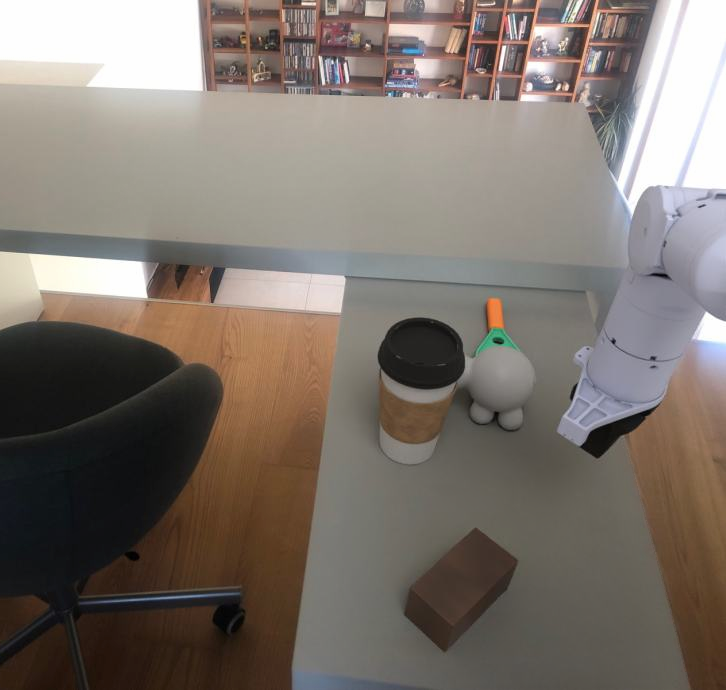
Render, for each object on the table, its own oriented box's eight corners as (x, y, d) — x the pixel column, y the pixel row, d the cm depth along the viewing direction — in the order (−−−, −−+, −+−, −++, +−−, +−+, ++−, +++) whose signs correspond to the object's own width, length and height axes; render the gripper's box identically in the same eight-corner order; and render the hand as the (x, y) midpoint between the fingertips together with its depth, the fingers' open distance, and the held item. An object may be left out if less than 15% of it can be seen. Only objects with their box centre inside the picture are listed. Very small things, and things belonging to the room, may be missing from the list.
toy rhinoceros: (425, 372, 84) (435, 317, 78) (528, 397, 80) (546, 341, 75) (412, 413, 79) (421, 357, 73) (521, 441, 75) (539, 384, 70)
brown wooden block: (519, 560, 59) (453, 626, 55) (508, 587, 62) (444, 652, 58) (475, 526, 62) (409, 587, 58) (467, 554, 65) (403, 614, 61)
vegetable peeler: (527, 388, 82) (530, 377, 80) (474, 382, 82) (477, 372, 81) (515, 310, 93) (518, 300, 92) (469, 306, 94) (471, 295, 93)
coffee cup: (361, 464, 73) (372, 359, 64) (375, 409, 79) (387, 305, 70) (441, 482, 71) (466, 376, 62) (450, 424, 77) (473, 319, 68)
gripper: (642, 270, 57) (594, 383, 67) (541, 353, 51) (503, 465, 60) (730, 311, 53) (665, 425, 63) (633, 406, 47) (577, 518, 56)
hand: (591, 448), depth 61 cm, fingers closed
